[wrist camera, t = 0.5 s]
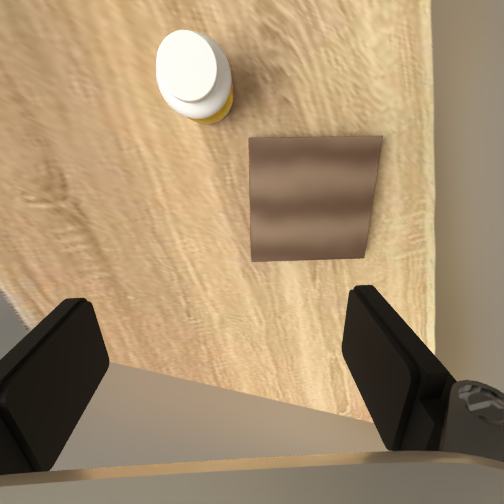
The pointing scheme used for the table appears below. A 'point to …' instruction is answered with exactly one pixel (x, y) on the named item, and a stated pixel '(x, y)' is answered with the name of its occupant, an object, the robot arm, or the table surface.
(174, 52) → the supplement bottle
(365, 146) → the block
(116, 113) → the table surface
